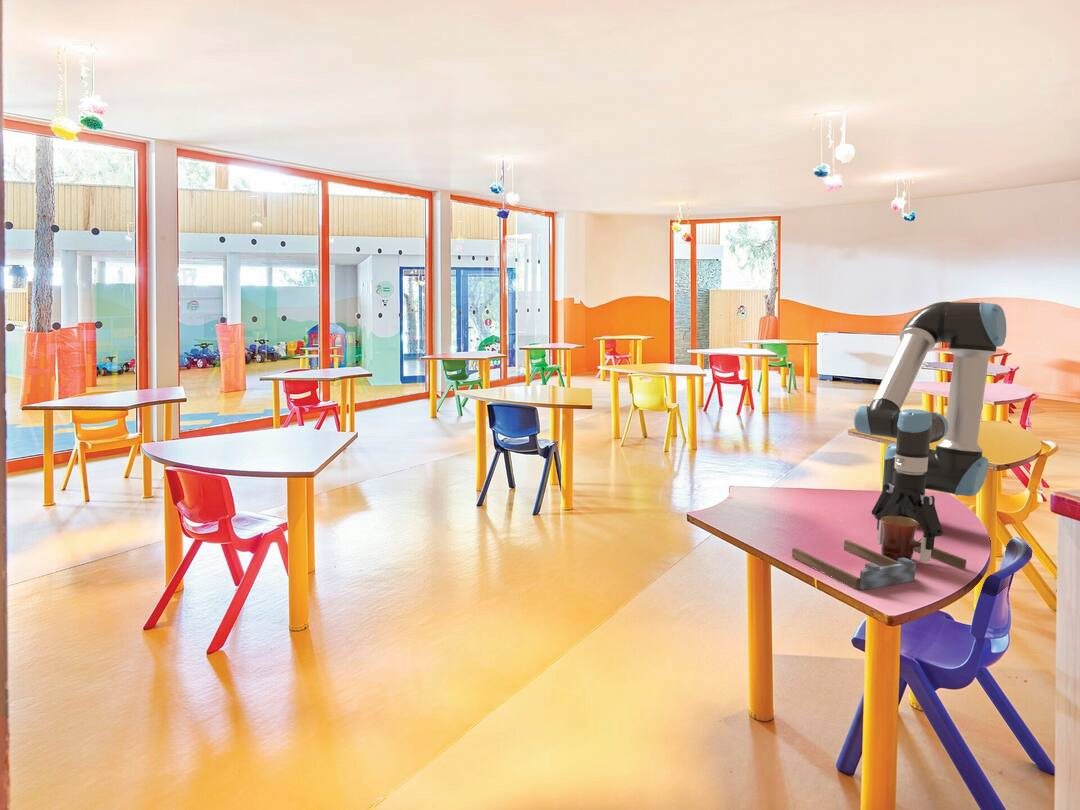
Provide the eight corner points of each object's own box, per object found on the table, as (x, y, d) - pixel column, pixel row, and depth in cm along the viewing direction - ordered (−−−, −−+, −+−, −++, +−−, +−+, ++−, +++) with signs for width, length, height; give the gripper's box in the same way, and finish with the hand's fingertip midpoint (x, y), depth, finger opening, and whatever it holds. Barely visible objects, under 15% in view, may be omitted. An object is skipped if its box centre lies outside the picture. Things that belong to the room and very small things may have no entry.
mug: (887, 565, 196) (890, 526, 194) (871, 553, 204) (874, 515, 203) (934, 565, 196) (938, 526, 194) (916, 553, 205) (920, 515, 203)
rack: (895, 541, 214) (896, 522, 213) (971, 571, 192) (973, 550, 191) (791, 557, 201) (793, 537, 200) (861, 592, 179) (863, 569, 178)
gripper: (861, 461, 207) (855, 538, 210) (941, 484, 184) (932, 570, 187) (883, 459, 209) (876, 535, 213) (964, 482, 187) (955, 566, 190)
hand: (902, 552), depth 200 cm, fingers open, 13 cm apart
